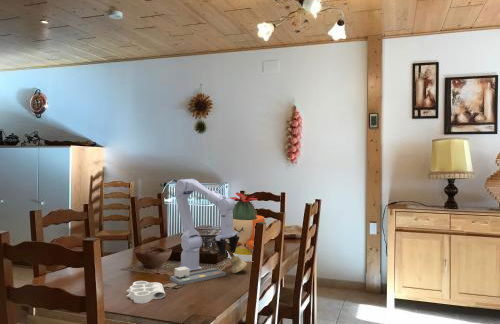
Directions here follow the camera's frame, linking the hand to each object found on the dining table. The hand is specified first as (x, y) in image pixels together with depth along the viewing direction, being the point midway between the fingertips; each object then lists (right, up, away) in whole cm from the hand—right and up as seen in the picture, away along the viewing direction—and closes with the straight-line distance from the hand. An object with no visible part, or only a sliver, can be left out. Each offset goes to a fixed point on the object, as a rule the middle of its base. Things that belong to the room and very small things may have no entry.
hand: (227, 253), depth 191 cm
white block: (-19, -8, -9) cm, 23 cm away
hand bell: (+5, -8, +6) cm, 12 cm away
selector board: (-13, -10, -3) cm, 17 cm away
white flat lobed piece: (-32, -11, -27) cm, 43 cm away
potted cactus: (+8, -10, +37) cm, 40 cm away
